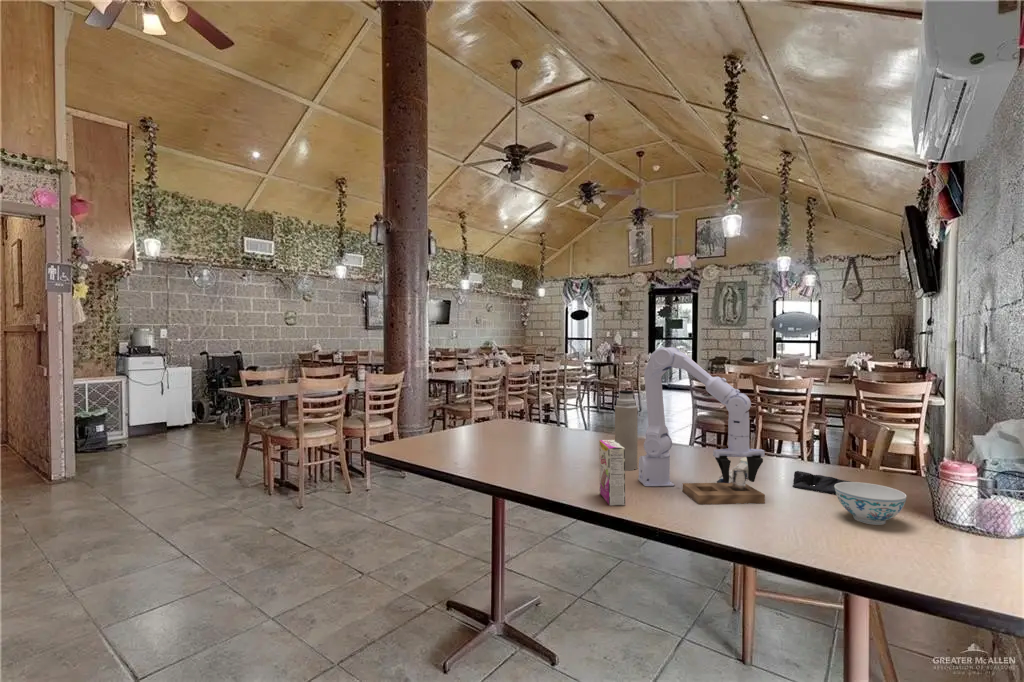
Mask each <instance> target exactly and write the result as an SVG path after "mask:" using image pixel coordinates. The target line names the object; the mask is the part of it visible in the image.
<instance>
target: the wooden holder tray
mask: <svg viewBox="0 0 1024 682" xmlns="http://www.w3.org/2000/svg"><path fill="white" fill-rule="evenodd" d="M681 486H682V493H684V494H685V495H687V497H689V498H690V499H691V498H692V499H691V500H693V501H694V502H695V501H696V502H697V503H696V502H695V503H696V504H698V505H736V503H741V505H742V504H744V503H747V505H749V504H748V503H756V504H766V494H765V493H763V492H761V491H759V490H757V489H756V488H755V487H752V486H751V485H749V484H747V483H746V491H734V490H732V483H717V482H683V483H682V485H681ZM711 503H712V504H711ZM744 505H745V504H744Z"/></svg>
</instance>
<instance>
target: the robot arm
mask: <svg viewBox="0 0 1024 682" xmlns="http://www.w3.org/2000/svg"><path fill="white" fill-rule="evenodd" d="M671 368H673V369H674V368H675V369H682V370H684V371H685V372H687V373H688V374H689V375H691V376H692V377H693V378H695V379H697V380H698V381H699V382H700V383H702V384H704V386H705V391H706V392H707V393H709V394H710V395H711V396H712V397H714V399H715V400H717V401H718V402H720V403H721V404H722V405H725V409H726V411H728V420H727V423H728V425H727V426H728V427H727V431H728V432H727V434H728V435H727V447H728V448H727V447H726V448H720V449H719V448H718V449H717V448H716V449H712V456H713V457H714V458H715V460H716V462H717V464H718V467H719V469H720V473H721V476H723V481H725V482H729V471H730V466H731V459H729V458H735V457H737V458H743V457H747V462H748V478H747V479H748V482H749V481H750V482H751V483H754V482H755V481H756V476H757V474H758V471H759V469H760V467H761V466H762V464H763V462H764V458H765V457H766V455H765V452H766V450H764V449H761V448H750V411H749V410H750V409H751V406H752V401H751V399H750V397H748V395H747V394H746V393H742V392H741V391H740V389H738V388H737V389H736V388H734V387H733V386H732V385H731V384H729V383H728V382H727V379H726V378H725V377H720V376H712V375H711V374H710V373H709V372H708V371H706V370H705V369H704V368H703V367H701V366H700V365H699V364H698V363H697V362H695V361H694V360H693V359H692V358H691V357H690V356H688V355H687V354H686V353H685V352H682V351H681V350H679V349H678V348H676V347H673V346H669V347H663V346H661V347H658V348H656V349H655V350H654V351H653V352H652V353H651V354H650V357H649V360H648V362H647V365H646V367H645V368H644V371H643V372H644V373H643V376H644V388H645V398H646V409H647V410H646V412H647V423H648V427H647V429H646V432H645V440H644V442H643V448H644V449H643V450H644V451H645V453H646V454H645V455H640V456H639V458H638V479H637V480H638V481H639V482H640V483H641V484H642V485H643V486H644V487H673V486H674V487H675V483H673V482H672V481H671V476H670V474H671V473H670V472H671V471H670V469H671V466H670V465H671V459H670V458H671V456H670V455H671V454H670V450H671V449H672V447H673V439H672V438H671V436H670V433H669V429H668V426H667V425H666V417H665V407H664V394H663V383H662V382H663V381H662V378H663V376H664V375H665V374H666V372H668V371H669V370H670V369H671Z"/></svg>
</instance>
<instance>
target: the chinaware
mask: <svg viewBox="0 0 1024 682" xmlns="http://www.w3.org/2000/svg"><path fill="white" fill-rule="evenodd" d="M834 488H835V492H836V494H835V495H836V496H837V499H838V502H840V504H841V505H842V507H843V508H844V509H845V510H846V511H847V512H848V513H850V514H851V515H852V518H853V519H854V520H855V521H857V522H859V523H863V524H867V525H874V526H883V525H885V524H886V521H888V520H891V519H892V518H895V517H896V516H897V515H899V513H901V511H902V510H903V508H904V506H905V504H906V502H907V494H906V493H905V492H903V491H901V490H899V489H896V488H894V487H893V488H892V487H890V486H886V485H882V484H875V483H868V482H859V481H851V482H841V483H837V484H835V485H834Z"/></svg>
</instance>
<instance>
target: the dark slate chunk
mask: <svg viewBox="0 0 1024 682" xmlns="http://www.w3.org/2000/svg"><path fill="white" fill-rule="evenodd" d="M841 482H852V481H851V480H845V479H839V478H836V477H832V476H825V475H821V474H813V473H811V472H805V471H800V470H795V471H794V473H793V483H792V487H793V488H795V489H801V488H802V490H806V489H807V491H811V490H813V491H812V492H818V491H819V492H818V493H823V492H825V493H824V494H832V493H834V494H833V495H836V492H835V488H834V485H835V484H837V483H841ZM810 485H811V486H810ZM813 485H815V486H813Z"/></svg>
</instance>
